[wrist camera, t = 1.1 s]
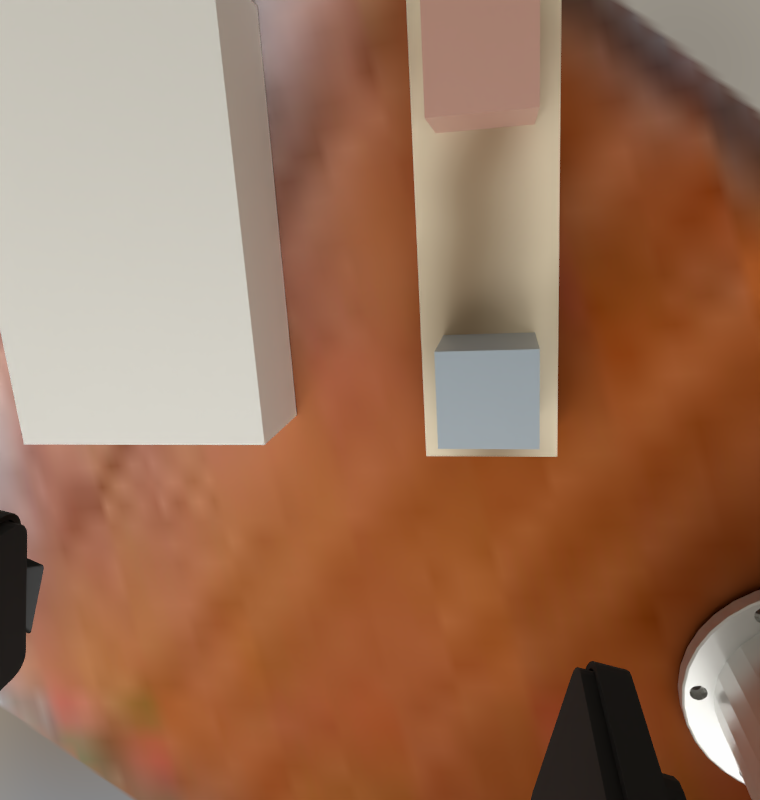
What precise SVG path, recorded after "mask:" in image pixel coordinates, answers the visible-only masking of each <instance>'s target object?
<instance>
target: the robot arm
mask: <svg viewBox="0 0 760 800" xmlns="http://www.w3.org/2000/svg"><path fill="white" fill-rule="evenodd" d="M26 579H27V530H26V528H25V526H23V525H21V522H20V519H19V517H18V516H17V515H15V514H13V513H9V512H5V511H1V510H0V690H1V689H2V688H3V687H4V686H5V685H6V684H7V683H8V682H10V681H11V680H12V679H13V678H14V676H15V675H16V674H17V673H18V671H19V670H20V668H21V666H22V664H23V662H24V658H25V653H26ZM678 692H679V701H680V706H681V708H682V711H683V715H684V718H685V721H686V724H687V726H688V728H689V730H690V732H691V734H692V736H693V738H694V740H695V742H696V743H697V744H698V746H699V747H700V748H701V750H702V751H703V752H704V753H705V755H706V756H707V757H708V758H709V759H710V760H711V761H712V762H713V763H715V764H716V765H717V766H718V767H719V768H720V769H721V770H723V771H724V772H725V773H727V774H728V775H730V776H732V777H733V778H735V779H736V780H738V781H740V782H742V783H743V784H745V785H746V787H747V789H748V792H749V794H750V796H751V799H752V800H760V590H758V591H755V592H753V593H750V594H748V595H746V596H744V597H742V598H739V599H737V600H735V601H733V602H732V603H730V604H729V605H727V606H726V607H724V608H723V609H721V610H720V611H719V612H717V613H716V614H714V615H713V616H712V617H711V618H710V619H709V620H708V621H707V622H706V623H705V624H704V625H703V626H702V627H701V628H700V629H699V630H698V632H697V633H696V635H695V636H694V638H693V639H692V641H691V642H690V644H689V645H688V647H687V649H686V652H685V655H684V657H683V660H682V663H681V665H680V671H679V679H678ZM531 800H686V797H685V794H684V792H683V789H682V787H681V785H680V783H679V781H678V780H677V779H676V778H675V777H674V776H670V775H666V774H663V773H661V769H660V766H659V763H658V760H657V757H656V753H655V750H654V747H653V744H652V741H651V737H650V734H649V731H648V728H647V724H646V721H645V718H644V715H643V712H642V708H641V705H640V702H639V699H638V696H637V692H636V689H635V686H634V683H633V679H632V676H631V674H630V672H629V671H627V670H625V669H621V668H617V667H613V666H609V665H606V664H602V663H598V662H594V661H591V662H589V664H588V665H587V667H586V669H582V668H578V667H577V668H575V670H574V672H573V674H572V677H571V680H570V683H569V686H568V689H567V692H566V695H565V698H564V701H563V704H562V707H561V710H560V713H559V716H558V719H557V722H556V724H555V727H554V730H553V733H552V736H551V739H550V742H549V745H548V748H547V751H546V754H545V757H544V760H543V763H542V766H541V769H540V772H539V775H538V778H537V781H536V784H535V787H534V790H533V793H532V797H531Z"/></svg>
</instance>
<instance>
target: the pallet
mask: <svg viewBox="0 0 760 800" xmlns="http://www.w3.org/2000/svg"><path fill="white" fill-rule="evenodd" d="M406 9H407V32H408V54H409V76H410V99H411V121H412V144H413V166H414V189H415V211H416V234H417V256H418V279H419V301H420V324H421V346H422V369H423V391H424V414H425V436H426V456H519V457H557V419H558V314H559V209H560V104H561V0H540V108H539V111H538V115H537V118H536V121H535V124H532V125H521V126H510V127H499V128H488V129H477V130H466V131H455V132H444V133H435V132H434V130H433V129H432V127H431V126H430V125H429V123H428V122H427V121H426V119H425V116H424V91H423V66H422V40H421V15H420V0H406ZM530 332H535V334H536V338H537V341H538V345H539V348H540V446H539V449H438V434H437V409H436V383H435V357H434V351H435V350H436V348H437V346H438V344H439V342H440V340H441V339H442V337H443V335H463V334H497V333H530Z"/></svg>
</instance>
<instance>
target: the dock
mask: <svg viewBox="0 0 760 800" xmlns="http://www.w3.org/2000/svg"><path fill="white" fill-rule="evenodd" d="M0 332H1V336H2V341H3V346H4V351H5V355H6V360H7V365H8V370H9V374H10V379H11V384H12V389H13V394H14V398H15V403H16V408H17V413H18V417H19V422H20V427H21V432H22V436H23V441H24V444H98V445H265V444H266V443H267V442H268V441H269V440H270V439H272V438H273V437H274V436H275V435H276V434H277V433H278V432H279V431H280V430H281V429H282V428H283V427H285V426H286V425H287V424H288V423H289V422H290V421H291V420H292V419H293V418H294V417H295V416H297V412H296V402H295V391H294V381H293V370H292V360H291V350H290V339H289V329H288V319H287V308H286V298H285V288H284V277H283V267H282V256H281V246H280V236H279V225H278V215H277V205H276V194H275V184H274V174H273V163H272V153H271V142H270V132H269V122H268V111H267V101H266V91H265V80H264V70H263V60H262V49H261V39H260V28H259V18H258V8H257V5H256V4H255V3H254V2H252V1H251V0H0Z"/></svg>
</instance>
